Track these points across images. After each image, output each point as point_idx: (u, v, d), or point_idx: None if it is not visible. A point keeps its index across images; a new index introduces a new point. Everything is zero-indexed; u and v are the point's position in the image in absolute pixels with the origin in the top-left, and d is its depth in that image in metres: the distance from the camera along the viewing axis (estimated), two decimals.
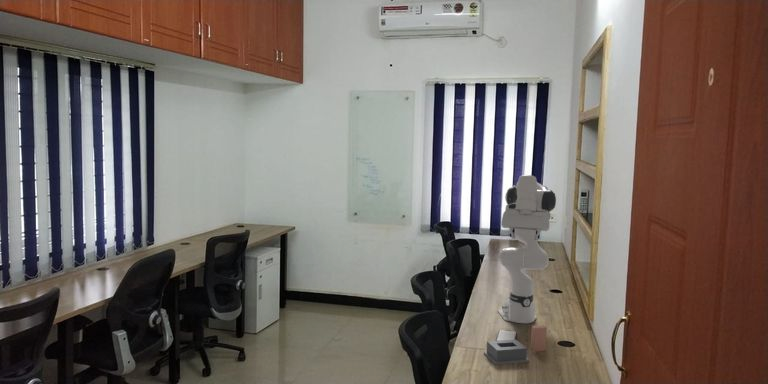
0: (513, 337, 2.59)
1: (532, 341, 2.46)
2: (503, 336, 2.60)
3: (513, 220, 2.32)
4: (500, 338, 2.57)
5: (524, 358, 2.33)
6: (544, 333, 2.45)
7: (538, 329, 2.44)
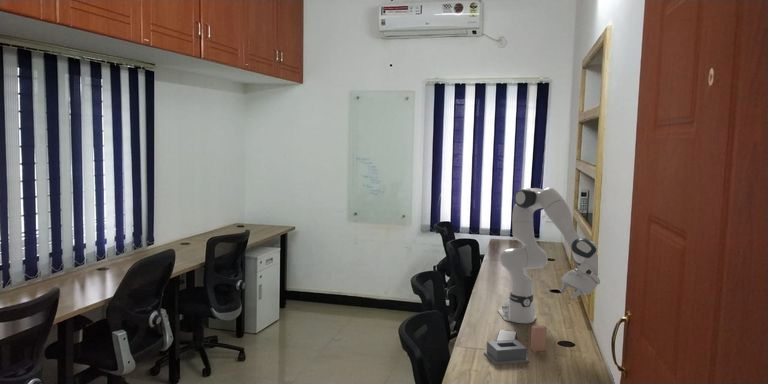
0: (513, 337, 2.59)
1: (532, 341, 2.46)
2: (503, 336, 2.60)
3: None
4: (500, 338, 2.57)
5: (524, 358, 2.33)
6: (544, 333, 2.45)
7: (538, 329, 2.44)
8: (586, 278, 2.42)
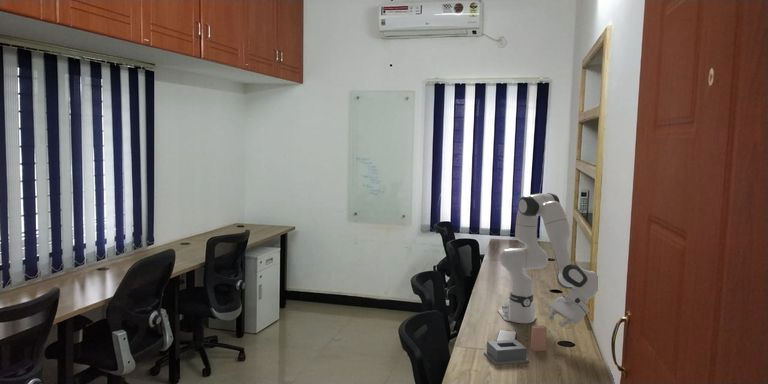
0: (513, 337, 2.58)
1: (532, 341, 2.46)
2: (503, 336, 2.60)
3: None
4: (500, 338, 2.57)
5: (524, 358, 2.33)
6: (544, 333, 2.45)
7: (538, 329, 2.44)
8: (575, 307, 2.42)
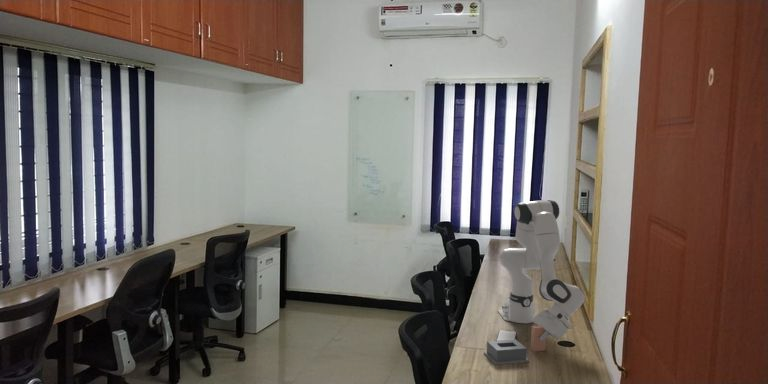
0: (513, 337, 2.58)
1: (532, 341, 2.46)
2: (503, 336, 2.60)
3: None
4: (500, 338, 2.57)
5: (524, 358, 2.33)
6: None
7: (538, 329, 2.44)
8: (557, 322, 2.41)
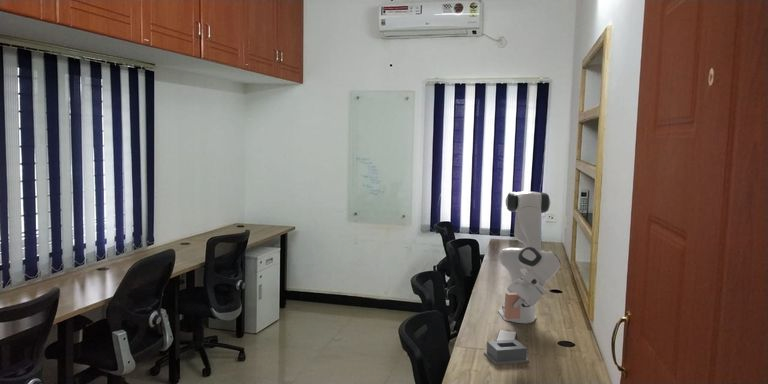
0: (513, 337, 2.58)
1: (506, 309, 2.35)
2: (503, 336, 2.59)
3: None
4: (500, 338, 2.57)
5: (524, 358, 2.33)
6: None
7: (512, 296, 2.33)
8: (531, 288, 2.30)
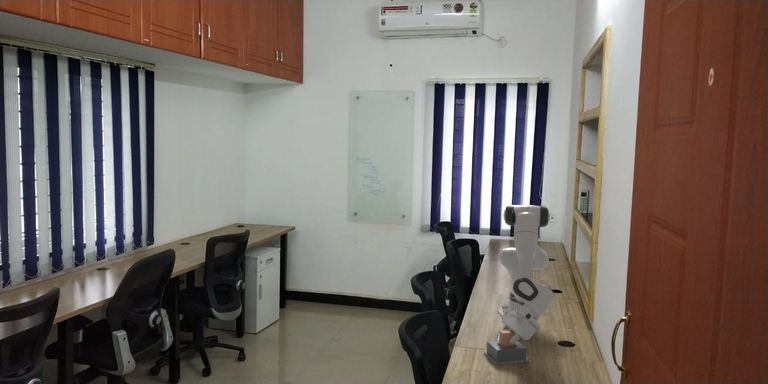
0: None
1: None
2: None
3: None
4: None
5: (524, 358, 2.33)
6: None
7: (506, 334, 2.34)
8: (525, 323, 2.30)
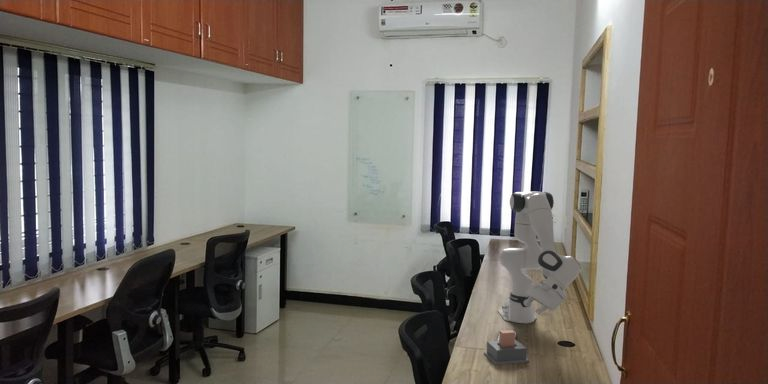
0: None
1: None
2: None
3: None
4: None
5: (524, 358, 2.33)
6: (512, 338, 2.35)
7: (506, 334, 2.34)
8: (552, 293, 2.32)
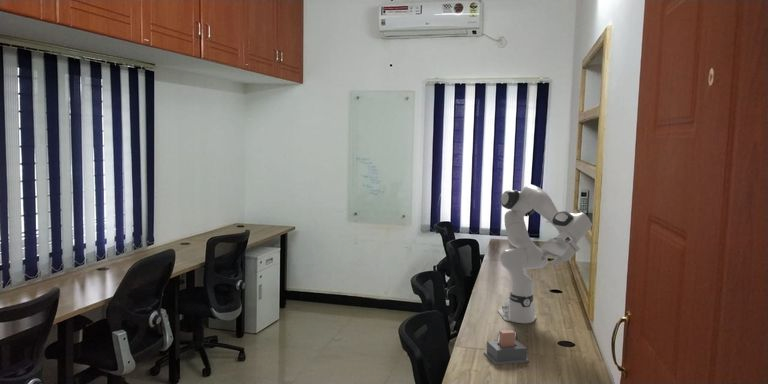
0: None
1: None
2: None
3: None
4: None
5: (524, 358, 2.33)
6: (512, 338, 2.35)
7: (506, 334, 2.34)
8: (565, 245, 2.47)
